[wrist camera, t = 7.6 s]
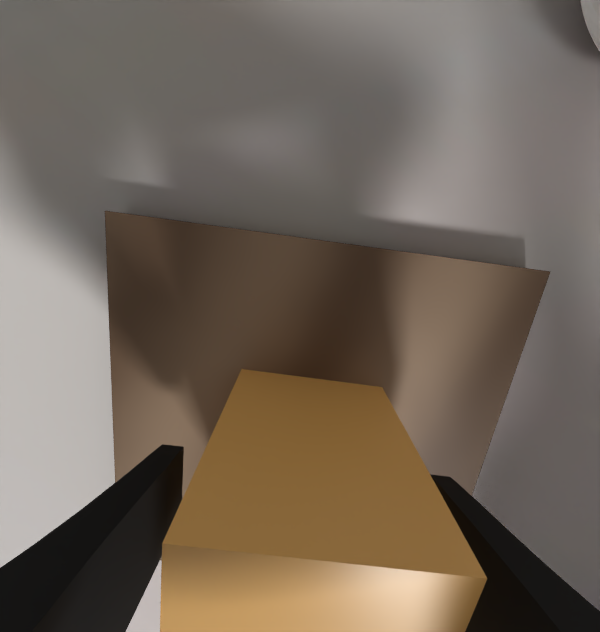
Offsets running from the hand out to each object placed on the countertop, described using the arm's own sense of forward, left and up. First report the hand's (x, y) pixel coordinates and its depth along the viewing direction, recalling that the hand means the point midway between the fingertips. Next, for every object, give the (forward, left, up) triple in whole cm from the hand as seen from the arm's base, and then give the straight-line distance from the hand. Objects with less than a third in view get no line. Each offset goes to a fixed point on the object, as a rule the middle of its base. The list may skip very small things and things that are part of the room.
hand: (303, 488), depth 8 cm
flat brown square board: (0, 0, -3) cm, 3 cm away
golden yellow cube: (0, 0, -2) cm, 2 cm away
